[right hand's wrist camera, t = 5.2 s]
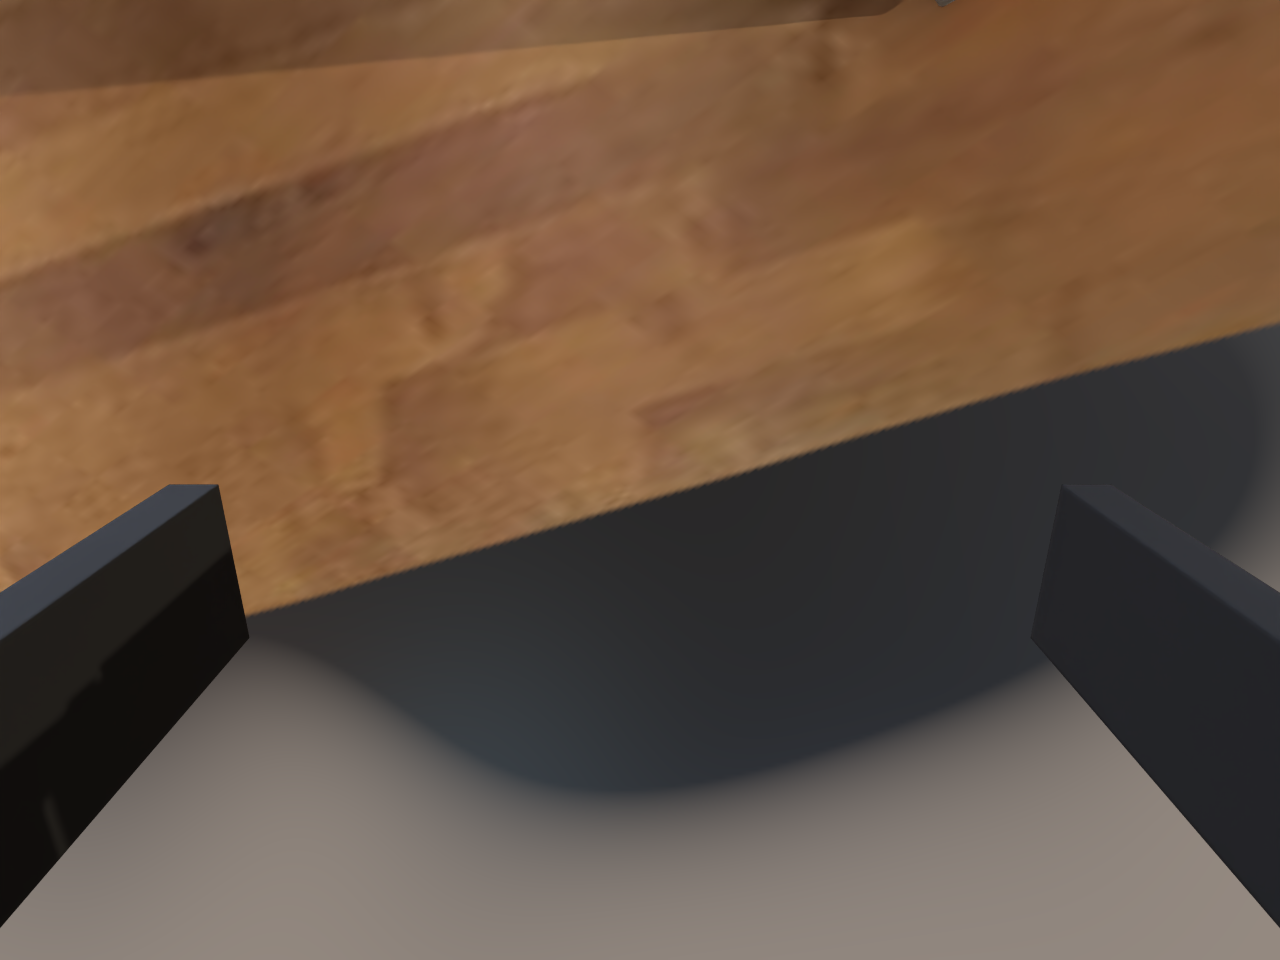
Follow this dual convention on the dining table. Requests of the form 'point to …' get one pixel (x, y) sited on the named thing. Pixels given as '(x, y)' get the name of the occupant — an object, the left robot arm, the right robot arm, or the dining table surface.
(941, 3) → the hard drive box
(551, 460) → the dining table surface
